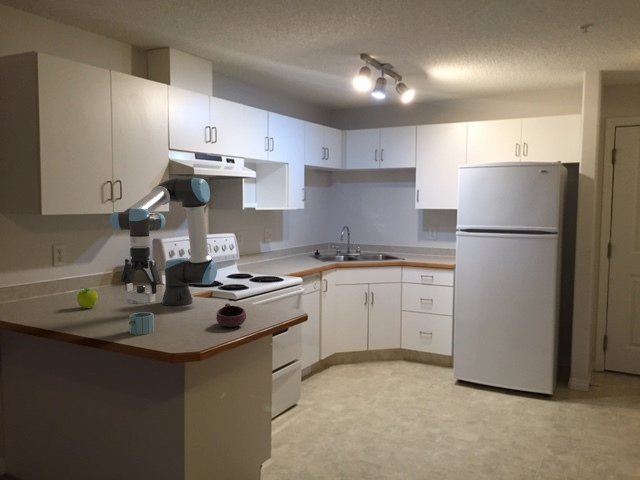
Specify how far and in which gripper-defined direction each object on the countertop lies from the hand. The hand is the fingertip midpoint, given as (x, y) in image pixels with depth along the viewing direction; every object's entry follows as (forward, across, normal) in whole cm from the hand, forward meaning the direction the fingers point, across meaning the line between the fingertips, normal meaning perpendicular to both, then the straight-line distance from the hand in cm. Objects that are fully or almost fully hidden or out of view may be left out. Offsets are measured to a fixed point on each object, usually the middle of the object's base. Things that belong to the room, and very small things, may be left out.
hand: (141, 300), depth 217 cm
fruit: (+13, -55, +24) cm, 61 cm away
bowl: (+13, +27, +23) cm, 38 cm away
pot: (+13, 0, 0) cm, 13 cm away
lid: (0, 0, 0) cm, 0 cm away
